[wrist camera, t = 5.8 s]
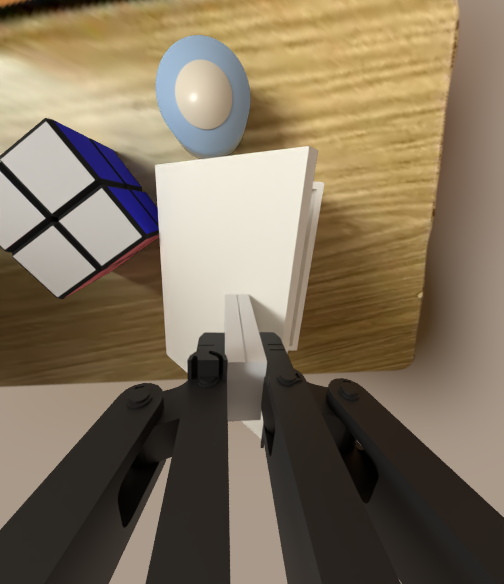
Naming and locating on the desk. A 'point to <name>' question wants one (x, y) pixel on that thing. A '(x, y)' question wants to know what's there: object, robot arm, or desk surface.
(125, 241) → the puzzle cube
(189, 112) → the blue domed cylinder
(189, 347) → the hinged white flap
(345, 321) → the desk surface
